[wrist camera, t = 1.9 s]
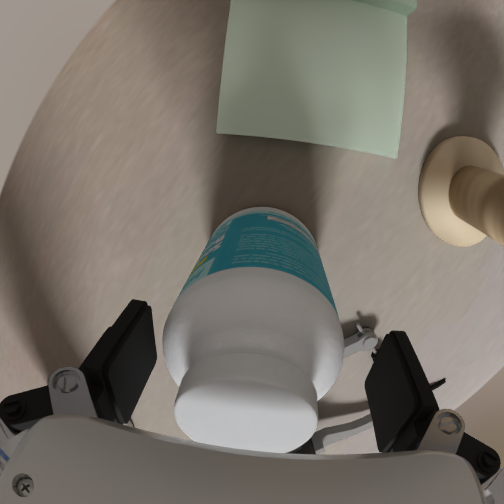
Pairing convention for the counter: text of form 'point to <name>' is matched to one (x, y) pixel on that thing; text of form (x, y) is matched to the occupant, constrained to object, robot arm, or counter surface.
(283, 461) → the robot arm
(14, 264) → the counter surface
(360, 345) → the bike brake
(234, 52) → the board
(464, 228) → the bobbin
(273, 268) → the pill bottle
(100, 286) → the counter surface
